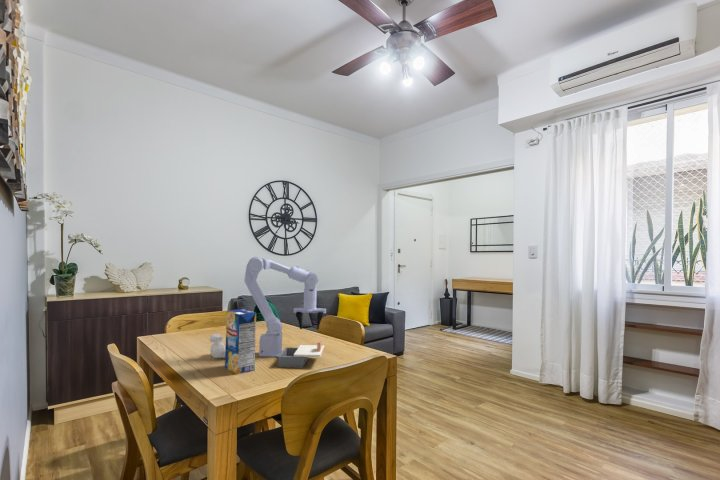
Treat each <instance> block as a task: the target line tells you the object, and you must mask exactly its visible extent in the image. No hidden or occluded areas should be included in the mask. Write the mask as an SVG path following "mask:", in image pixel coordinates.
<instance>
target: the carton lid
mask: <svg viewBox="0 0 720 480" xmlns="http://www.w3.org/2000/svg"><path fill="white" fill-rule="evenodd" d="M322 344H323V343H322V339H318V341H317V342H316V344H299V346H298V347H297V348H298V349H297V350H296V352H295V353H294V357H308V358H320V357H322V353H323V351H324V349H325V345H322Z"/></svg>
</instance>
